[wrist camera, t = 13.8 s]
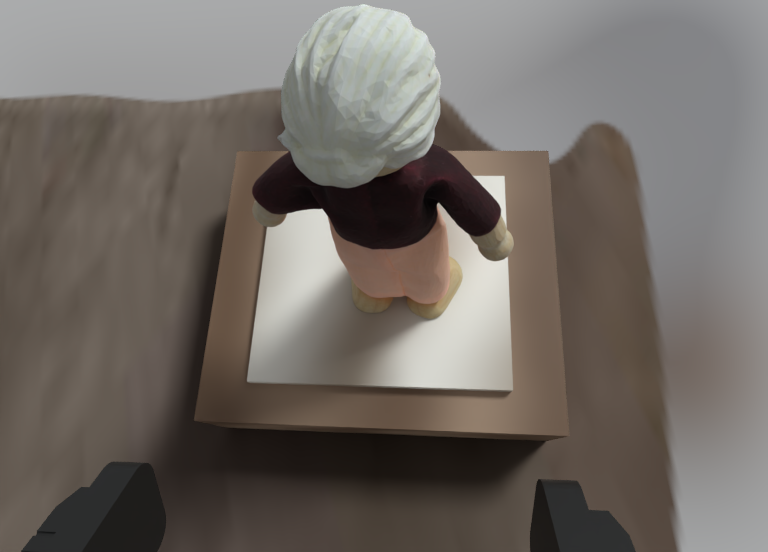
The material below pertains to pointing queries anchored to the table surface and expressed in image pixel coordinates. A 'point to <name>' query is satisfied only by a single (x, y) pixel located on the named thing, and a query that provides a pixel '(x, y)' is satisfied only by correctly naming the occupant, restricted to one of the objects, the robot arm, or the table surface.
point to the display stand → (388, 325)
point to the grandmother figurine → (376, 161)
